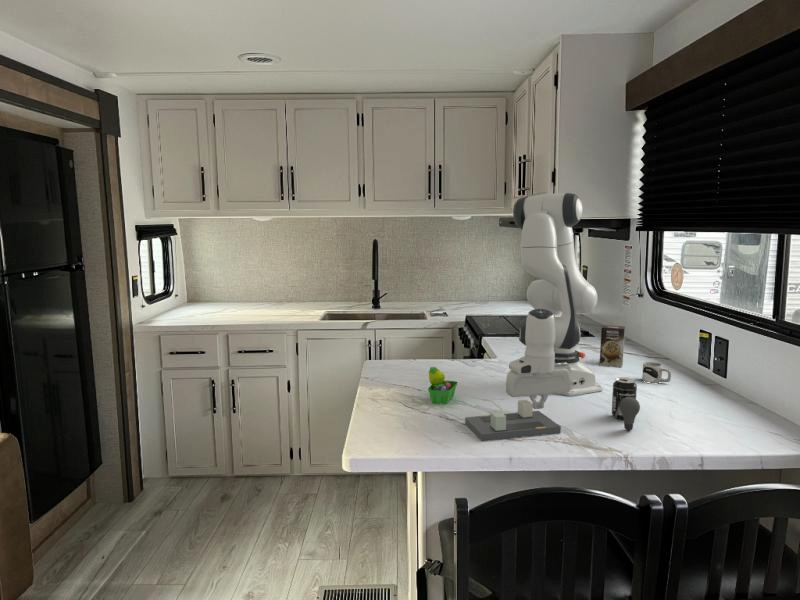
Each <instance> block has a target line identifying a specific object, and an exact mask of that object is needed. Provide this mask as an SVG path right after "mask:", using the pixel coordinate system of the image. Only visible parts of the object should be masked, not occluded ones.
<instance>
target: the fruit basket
mask: <svg viewBox="0 0 800 600" xmlns="http://www.w3.org/2000/svg"><path fill="white" fill-rule="evenodd" d="M445 378H446V374H445V373H444V372H443V371H441V370H440V369H439V368H438V367H436V366H430V367H429V371H428V380H429V382H430V386H429V387H428V388H427V391H428V393H429V397H430V400H431V404H439V403H444V405H448V403H449V402H450V401H451V400H452V399H451V398H453V397H454V395H455V393H456V392H455V391H456V390H457V389H456V388H457V385H458V381H455V380H454V381H453V380H445ZM450 399H451V400H450Z"/></svg>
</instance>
